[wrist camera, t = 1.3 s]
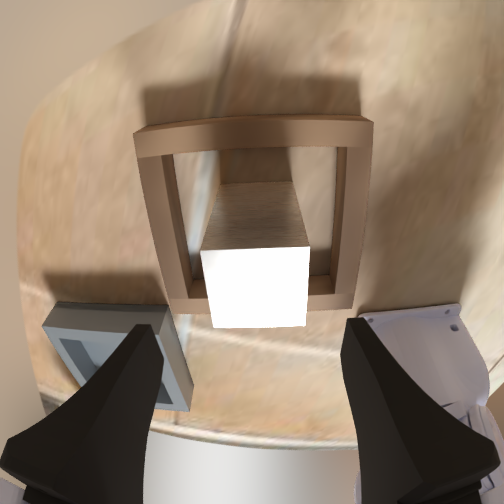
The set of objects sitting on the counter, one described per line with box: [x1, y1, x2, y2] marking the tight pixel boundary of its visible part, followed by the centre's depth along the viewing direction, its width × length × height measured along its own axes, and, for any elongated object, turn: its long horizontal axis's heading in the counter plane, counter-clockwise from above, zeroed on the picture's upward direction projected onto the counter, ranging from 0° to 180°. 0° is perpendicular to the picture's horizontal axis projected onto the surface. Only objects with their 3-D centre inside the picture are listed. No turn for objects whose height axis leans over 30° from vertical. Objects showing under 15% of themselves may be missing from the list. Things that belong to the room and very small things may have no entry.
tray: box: [42, 302, 194, 412], centre depth 24 cm, size 10×10×3 cm
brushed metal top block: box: [200, 181, 310, 328], centre depth 16 cm, size 4×4×7 cm
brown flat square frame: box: [133, 114, 374, 314], centre depth 18 cm, size 12×12×2 cm
